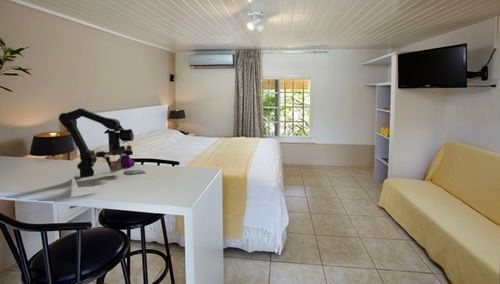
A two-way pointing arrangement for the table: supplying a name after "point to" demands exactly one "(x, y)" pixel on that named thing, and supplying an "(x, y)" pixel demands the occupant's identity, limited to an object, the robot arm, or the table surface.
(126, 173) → the slate coaster
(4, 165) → the table surface
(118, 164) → the walnut cube
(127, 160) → the perfume bottle
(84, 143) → the robot arm
